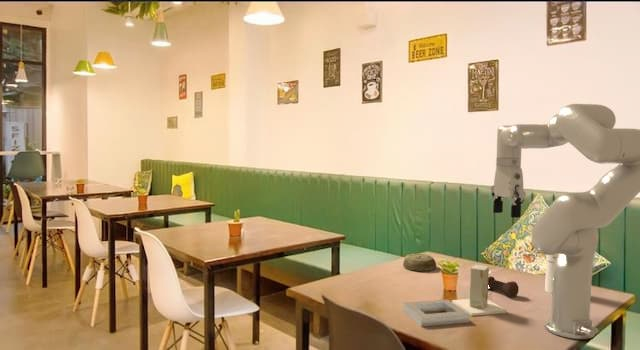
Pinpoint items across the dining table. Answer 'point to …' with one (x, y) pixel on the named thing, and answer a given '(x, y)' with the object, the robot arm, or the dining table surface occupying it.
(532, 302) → the dining table surface
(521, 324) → the dining table surface
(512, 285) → the dark brown dumbbell
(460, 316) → the socket block
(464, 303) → the tile
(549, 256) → the cylindrical container
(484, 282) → the grey upright block
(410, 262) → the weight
